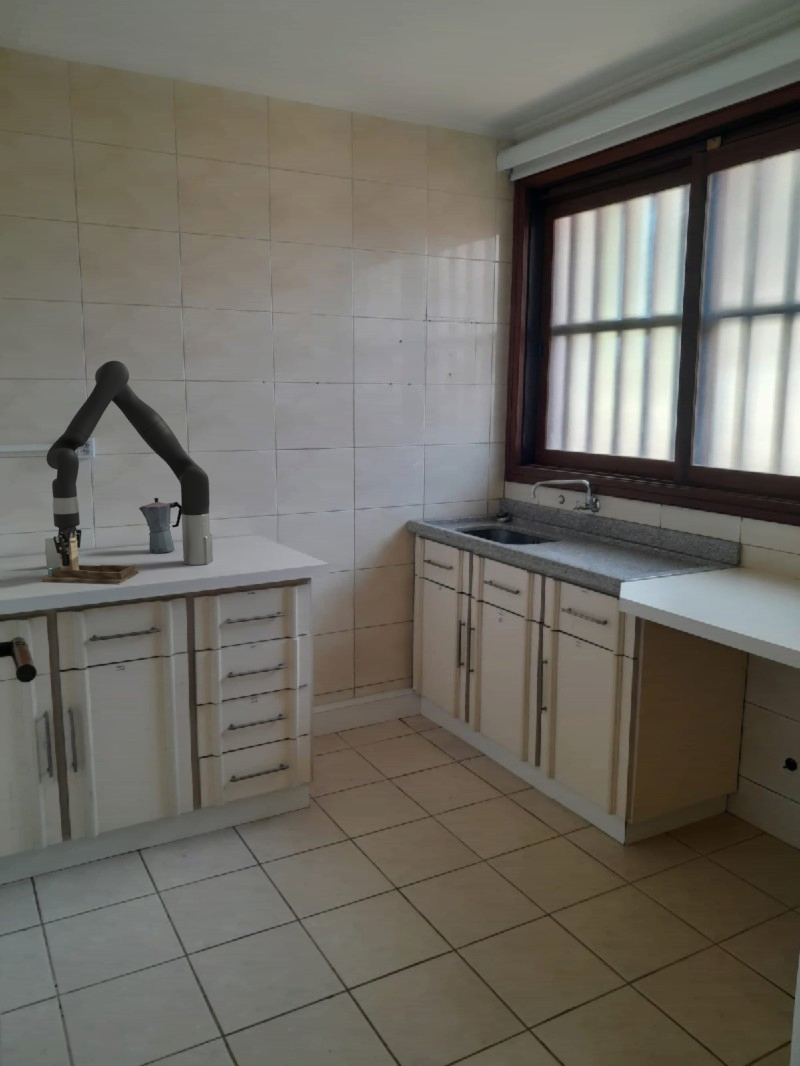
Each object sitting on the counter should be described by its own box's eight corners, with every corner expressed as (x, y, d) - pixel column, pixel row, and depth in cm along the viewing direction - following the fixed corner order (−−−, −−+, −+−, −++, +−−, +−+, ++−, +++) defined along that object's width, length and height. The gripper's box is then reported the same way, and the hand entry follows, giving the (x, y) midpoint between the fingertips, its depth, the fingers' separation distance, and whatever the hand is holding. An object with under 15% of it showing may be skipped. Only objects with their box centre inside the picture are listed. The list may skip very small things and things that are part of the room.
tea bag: (69, 566, 270) (67, 537, 268) (48, 569, 267) (45, 539, 265) (68, 564, 273) (66, 536, 271) (46, 567, 270) (44, 537, 268)
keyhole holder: (138, 573, 261) (138, 564, 261) (120, 583, 248) (119, 574, 247) (65, 571, 264) (64, 562, 263) (42, 581, 250) (41, 572, 249)
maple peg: (80, 570, 258) (78, 536, 256) (73, 574, 253) (71, 539, 251) (66, 570, 258) (64, 536, 256) (59, 573, 254) (56, 539, 252)
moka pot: (139, 550, 297) (136, 496, 293) (181, 547, 304) (179, 494, 300) (143, 555, 289) (140, 500, 285) (186, 551, 295) (184, 498, 291)
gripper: (66, 514, 245) (70, 569, 248) (88, 507, 259) (91, 559, 262) (42, 514, 246) (46, 569, 249) (65, 507, 260) (69, 559, 263)
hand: (69, 563), depth 255 cm, fingers closed on maple peg, 4 cm apart
